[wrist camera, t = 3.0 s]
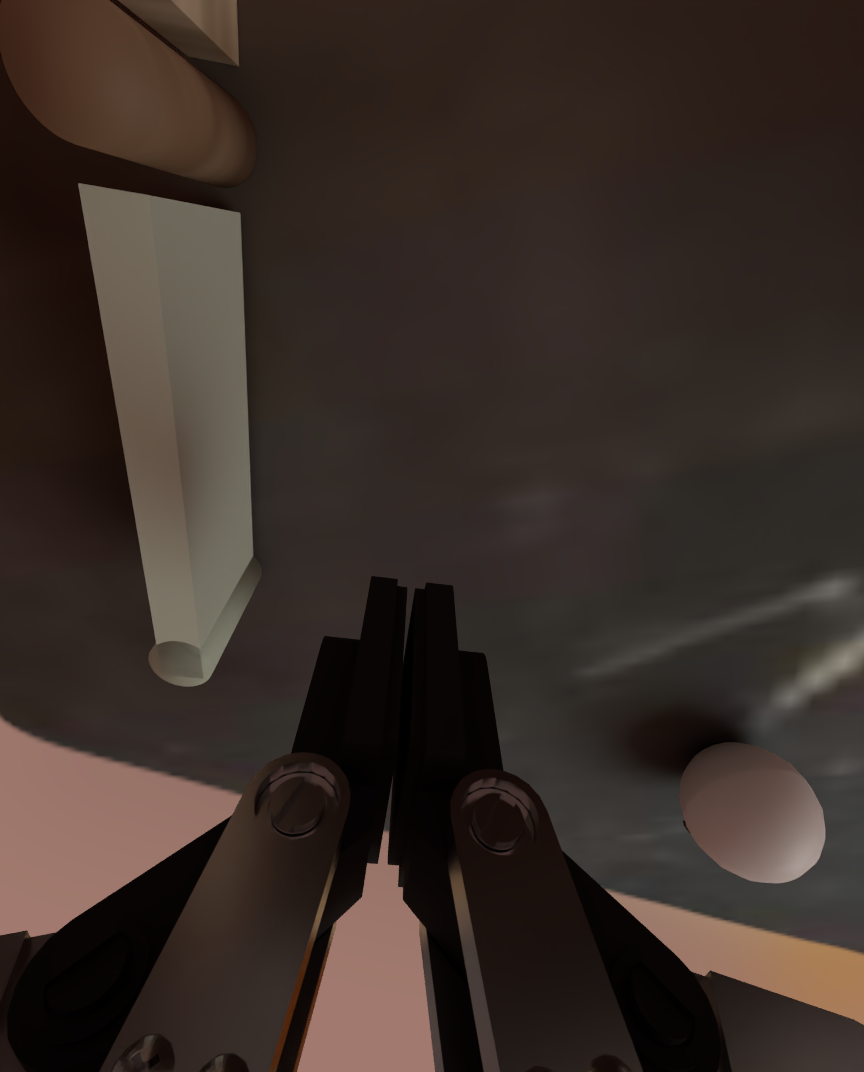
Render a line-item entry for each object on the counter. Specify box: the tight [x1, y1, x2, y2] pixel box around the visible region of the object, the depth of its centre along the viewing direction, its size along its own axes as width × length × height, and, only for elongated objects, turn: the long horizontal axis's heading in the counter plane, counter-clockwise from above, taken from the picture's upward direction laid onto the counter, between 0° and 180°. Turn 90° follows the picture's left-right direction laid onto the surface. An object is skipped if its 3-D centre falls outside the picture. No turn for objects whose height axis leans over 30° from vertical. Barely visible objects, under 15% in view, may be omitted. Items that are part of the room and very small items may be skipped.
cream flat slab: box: [78, 183, 262, 686], centre depth 14 cm, size 12×2×5 cm, turn 172°
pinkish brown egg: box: [679, 742, 825, 883], centre depth 23 cm, size 8×6×6 cm
